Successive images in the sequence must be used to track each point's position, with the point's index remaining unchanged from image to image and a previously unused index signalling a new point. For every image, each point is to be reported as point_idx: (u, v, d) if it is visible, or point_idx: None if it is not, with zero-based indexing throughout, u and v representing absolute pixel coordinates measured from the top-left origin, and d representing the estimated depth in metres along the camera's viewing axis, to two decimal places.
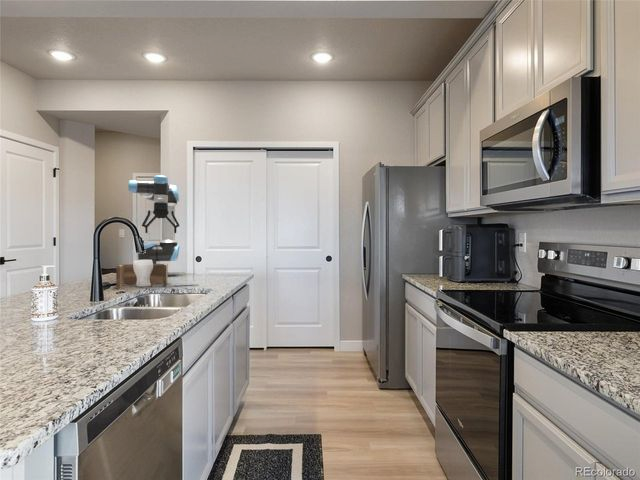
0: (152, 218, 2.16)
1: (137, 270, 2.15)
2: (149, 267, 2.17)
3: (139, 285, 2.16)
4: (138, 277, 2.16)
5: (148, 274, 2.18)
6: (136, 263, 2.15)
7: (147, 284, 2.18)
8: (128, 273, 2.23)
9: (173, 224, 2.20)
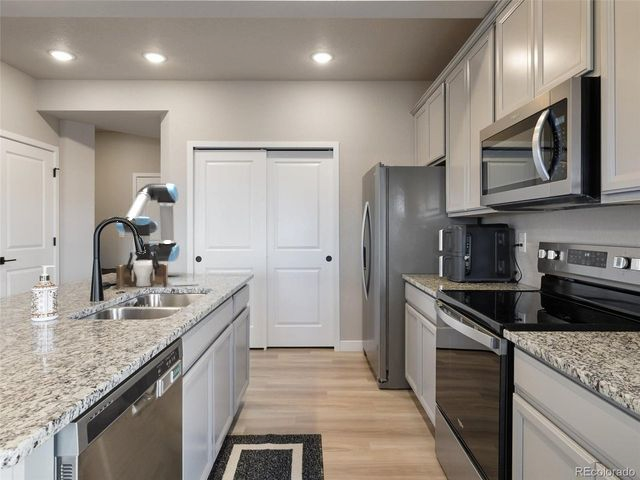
0: (135, 260, 2.17)
1: (137, 270, 2.15)
2: (149, 267, 2.17)
3: (139, 285, 2.16)
4: (138, 277, 2.16)
5: (148, 274, 2.18)
6: (136, 263, 2.15)
7: (147, 284, 2.18)
8: (128, 273, 2.23)
9: (153, 266, 2.20)
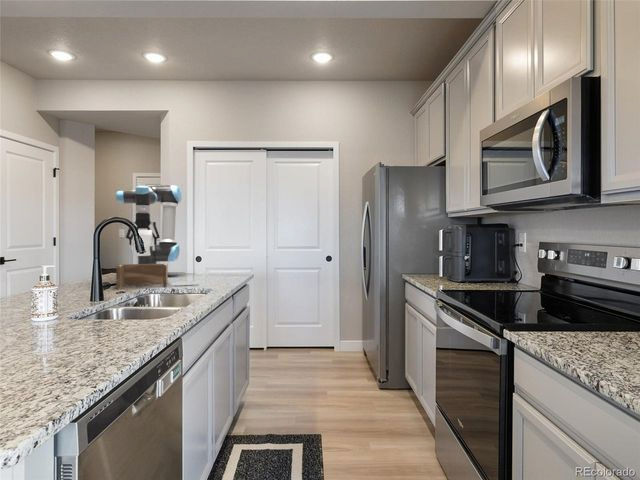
0: None
1: None
2: (149, 237, 2.17)
3: (139, 254, 2.16)
4: None
5: (148, 244, 2.18)
6: None
7: (147, 254, 2.18)
8: (128, 273, 2.23)
9: (153, 235, 2.20)
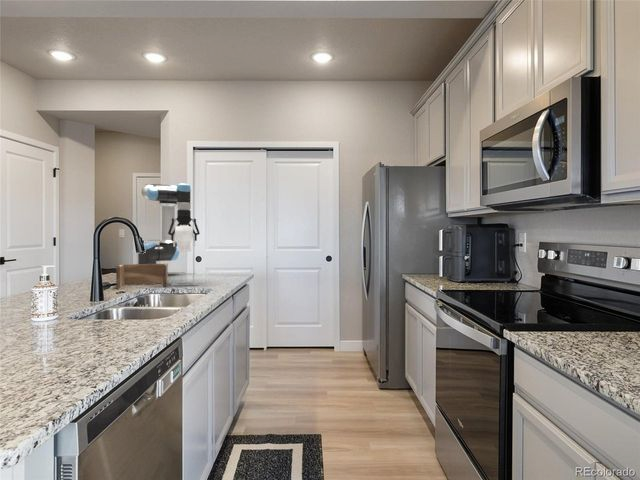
0: None
1: (179, 235, 2.20)
2: (190, 233, 2.23)
3: (181, 250, 2.22)
4: (179, 242, 2.22)
5: (189, 240, 2.24)
6: (178, 228, 2.20)
7: (188, 249, 2.24)
8: (128, 273, 2.23)
9: (194, 232, 2.26)
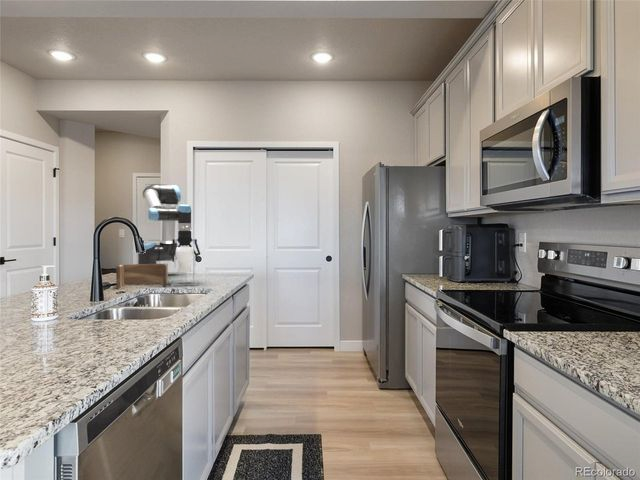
0: (177, 246, 2.23)
1: (180, 256, 2.21)
2: (191, 253, 2.23)
3: (181, 271, 2.22)
4: (180, 263, 2.23)
5: (190, 260, 2.24)
6: (179, 249, 2.21)
7: (189, 270, 2.24)
8: (128, 273, 2.23)
9: (195, 252, 2.27)
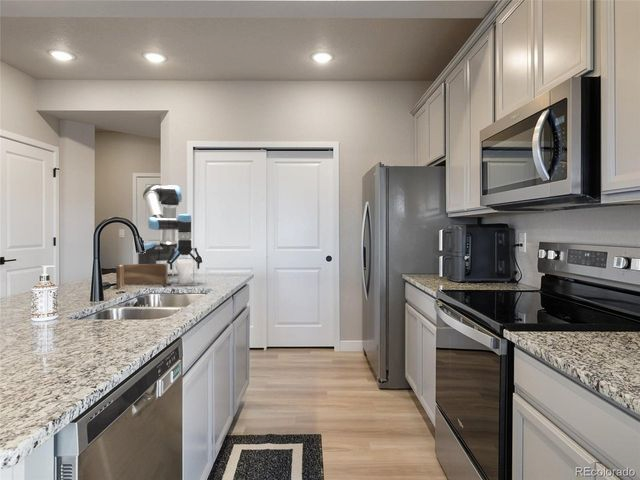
0: (176, 255, 2.23)
1: (180, 268, 2.21)
2: (191, 265, 2.24)
3: (181, 282, 2.23)
4: (180, 275, 2.23)
5: (190, 272, 2.25)
6: (179, 261, 2.21)
7: (189, 282, 2.24)
8: (128, 273, 2.23)
9: (196, 260, 2.27)
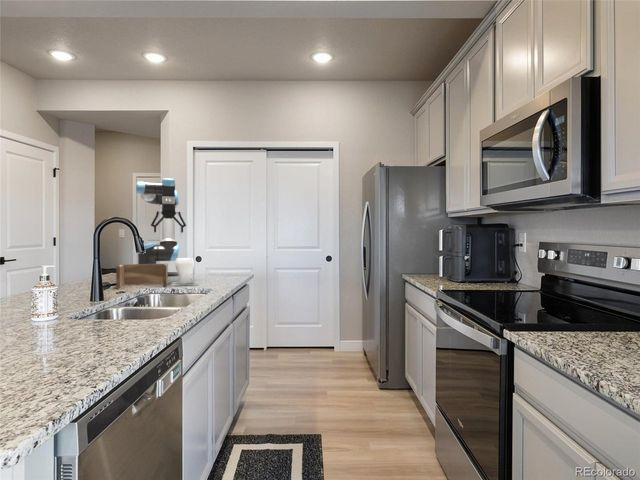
0: None
1: (180, 268, 2.21)
2: (191, 265, 2.24)
3: (181, 282, 2.23)
4: (180, 275, 2.23)
5: (190, 272, 2.25)
6: (179, 261, 2.21)
7: (189, 282, 2.24)
8: (128, 273, 2.23)
9: (180, 224, 2.33)
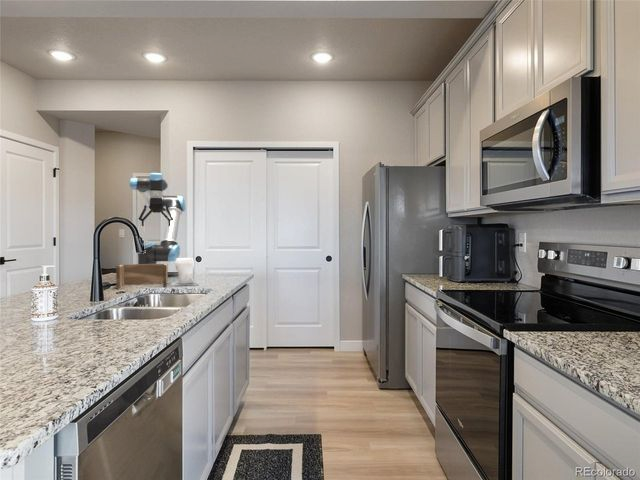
0: (148, 212, 2.34)
1: (180, 268, 2.21)
2: (191, 265, 2.24)
3: (181, 282, 2.23)
4: (180, 275, 2.23)
5: (190, 272, 2.25)
6: (179, 261, 2.21)
7: (189, 282, 2.24)
8: (128, 273, 2.23)
9: (167, 218, 2.38)
